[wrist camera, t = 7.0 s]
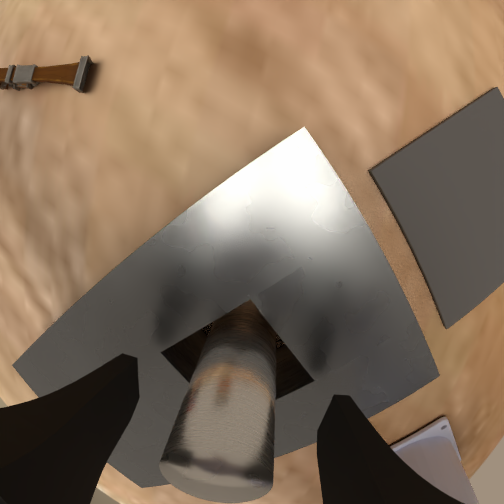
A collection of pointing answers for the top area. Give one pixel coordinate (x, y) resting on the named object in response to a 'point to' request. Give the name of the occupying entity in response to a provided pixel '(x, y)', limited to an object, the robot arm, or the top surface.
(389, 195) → the rubber mat
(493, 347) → the top surface
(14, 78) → the wooden post with brackets
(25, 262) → the top surface
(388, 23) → the top surface
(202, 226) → the block
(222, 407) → the steel pin
